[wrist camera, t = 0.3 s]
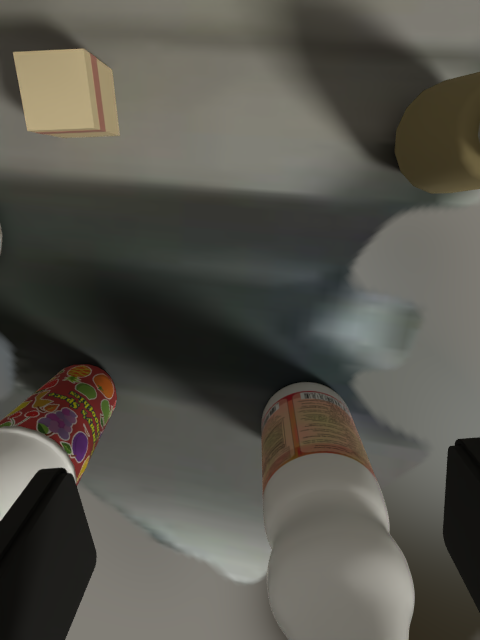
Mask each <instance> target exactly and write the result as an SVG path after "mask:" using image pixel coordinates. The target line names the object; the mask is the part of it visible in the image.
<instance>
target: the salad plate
mask: <svg viewBox="0 0 480 640" xmlns="http://www.w3.org/2000/svg"><path fill="white" fill-rule="evenodd" d="M1 249H2V230H1V225H0V255H1Z"/></svg>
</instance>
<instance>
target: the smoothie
mask: <svg viewBox="0 0 480 640" xmlns="http://www.w3.org/2000/svg"><path fill="white" fill-rule="evenodd" d="M116 400H117V395H116V389H115V386H114V383H113V381H112V379H111V377H110V376H109V375H108V374H107V373H106V372H105V371H104V370H102V369H100V368H99V367H97V366H93V365H89V364H81V365H72V366H69V367H66V368H64V369H63V370H61V371H60V372H59V373H58V374H57V375H55V376H54V377H53V378H52V379H50V380H49V381H48V382H47V383H46V384H44V385H43V386H42V387H41V388H40V389H38V390H37V391H36V392H35V393H33V394H32V395H31V396H30V397H29V398H27V399H26V400H25V401H24V402H23V403H21V404H20V405H19V406H18V407H17V408H15V409H14V410H13V411H12V412H10V413H9V414H8V415H7V416H6V417H4V418H3V419H2V420H1V421H0V521H1V520H2V518H3V517H4V516H5V514H6V513H7V512H8V510H9V509H10V508H11V506H12V505H13V504H14V502H15V501H16V500H17V498H18V497H19V495H20V494H21V493H22V491H23V490H24V489H25V487H26V486H27V485H28V483H29V482H30V481H31V479H32V478H33V477H34V475H35V474H36V473H37V472H38V471H39V470H41V469H48V468H65V469H66V470H67V473H71V474H72V475H73V477H74V479H75V483H76V486H77V485H78V483H79V481H80V479H81V476H82V474H83V472H84V470H85V468H86V466H87V464H88V462H89V460H90V458H91V456H92V454H93V452H94V449H95V447H96V445H97V443H98V441H99V439H100V437H101V435H102V433H103V431H104V429H105V427H106V425H107V422H108V420H109V418H110V416H111V414H112V412H113V410H114V408H115V405H116Z"/></svg>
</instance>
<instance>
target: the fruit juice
mask: <svg viewBox="0 0 480 640" xmlns="http://www.w3.org/2000/svg"><path fill="white" fill-rule="evenodd" d="M261 434H262V478H263V516H264V525H265V531H266V536H267V539H268V542H269V545H270V547H271V549H272V551H271V555H270V559H269V563H268V569H267V587H268V597H269V602H270V606H271V609H272V612H273V615H274V617H275V620H276V621H277V623H278V625H279V627H280V628H281V630H282V631H283V632H284V634H285V635H286V637H287V638H288V640H409V625H410V621H411V617H412V614H413V609H414V586H413V581H412V577H411V573H410V570H409V567H408V564H407V561H406V559H405V557H404V555H403V553H402V551H401V549H400V548H399V546H398V545H397V543H396V542H395V541H394V539H393V538H392V537H391V536H390V534H389V517H388V512H387V508H386V504H385V501H384V498H383V495H382V492H381V489H380V486H379V484H378V482H377V480H376V477H375V475H374V472H373V470H372V467H371V465H370V462H369V460H368V457H367V455H366V452H365V450H364V447H363V444H362V442H361V439H360V437H359V434H358V432H357V429H356V427H355V424H354V422H353V419H352V417H351V414H350V412H349V409H348V407H347V405H346V404H345V402H344V401H343V399H342V398H341V397H340V396H339V395H338V394H337V393H336V392H334V391H333V390H332V389H330V388H328V387H326V386H324V385H321V384H318V383H312V382H300V383H295V384H291V385H288V386H286V387H284V388H282V389H281V390H279V391H278V392H276V393H275V394H274V395H273V396H272V397H271V398H270V400H269V401H268V403H267V405H266V406H265V409H264V411H263V415H262V421H261Z"/></svg>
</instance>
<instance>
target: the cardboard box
mask: <svg viewBox="0 0 480 640" xmlns="http://www.w3.org/2000/svg"><path fill="white" fill-rule="evenodd" d="M13 55H14V61H15V66H16V72H17V77H18V82H19V88H20V93H21V98H22V104H23V109H24V115H25V120H26V125H27V131H31V132H36V133H40V134H46V135H51V136H56V137H61V138H72V137H98V136H120V134H119V125H118V117H117V108H116V100H115V91H114V83H113V75H112V69H110V68H109V67H108V66H106V65H105V64H104V63H102V62H101V61H100V60H98V59H97V58H96V57H95V56H93V55H92V54H91V53H89V52H87V51H86V50H85V49H64V50H44V51H24V52H13Z"/></svg>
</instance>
